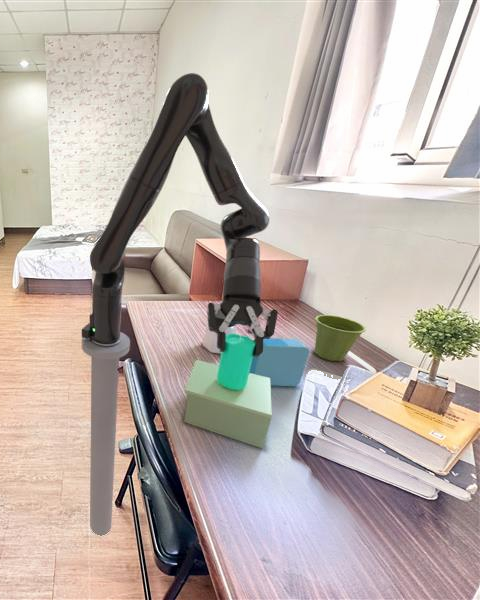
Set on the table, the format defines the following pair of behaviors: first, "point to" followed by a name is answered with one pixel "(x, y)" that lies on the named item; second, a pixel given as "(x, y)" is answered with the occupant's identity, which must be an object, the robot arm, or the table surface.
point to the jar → (211, 336)
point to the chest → (227, 420)
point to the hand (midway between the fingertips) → (239, 353)
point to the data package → (281, 361)
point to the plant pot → (336, 336)
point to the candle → (236, 361)
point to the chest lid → (230, 390)
